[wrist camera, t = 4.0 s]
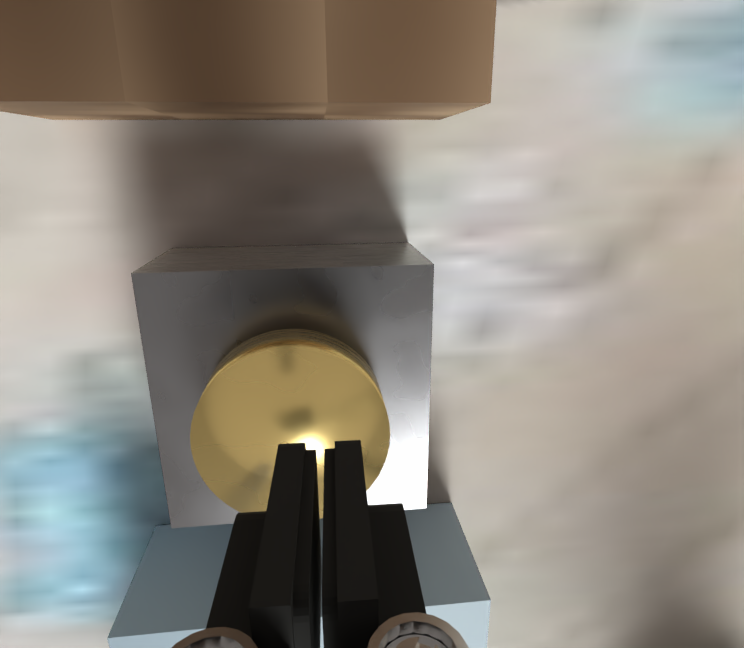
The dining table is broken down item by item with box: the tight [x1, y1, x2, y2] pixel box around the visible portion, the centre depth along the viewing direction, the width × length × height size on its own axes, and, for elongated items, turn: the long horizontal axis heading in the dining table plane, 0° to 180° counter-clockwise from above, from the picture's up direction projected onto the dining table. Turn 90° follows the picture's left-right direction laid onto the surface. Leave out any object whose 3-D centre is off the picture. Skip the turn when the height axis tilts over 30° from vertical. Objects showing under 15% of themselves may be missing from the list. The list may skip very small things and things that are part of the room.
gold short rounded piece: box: [190, 329, 390, 519], centre depth 15 cm, size 5×5×4 cm
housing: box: [131, 242, 434, 528], centre depth 17 cm, size 8×8×4 cm
